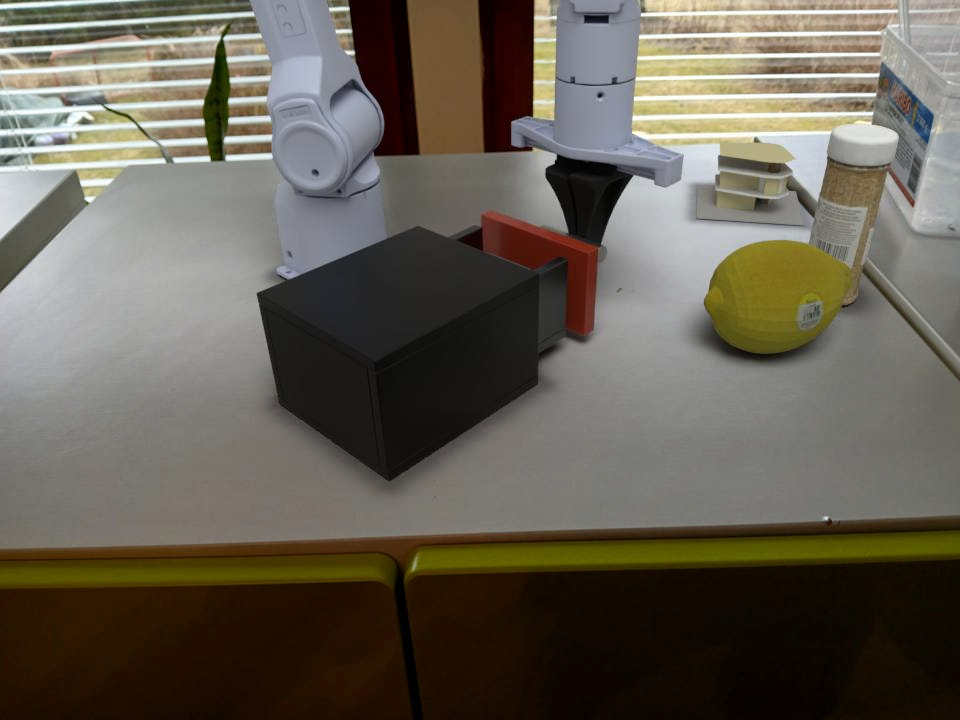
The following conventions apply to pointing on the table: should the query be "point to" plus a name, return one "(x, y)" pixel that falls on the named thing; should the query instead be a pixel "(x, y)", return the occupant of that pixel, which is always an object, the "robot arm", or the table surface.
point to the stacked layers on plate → (751, 186)
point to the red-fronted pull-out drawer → (546, 269)
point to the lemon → (776, 295)
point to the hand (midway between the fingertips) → (586, 249)
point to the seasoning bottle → (852, 195)
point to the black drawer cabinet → (402, 344)
